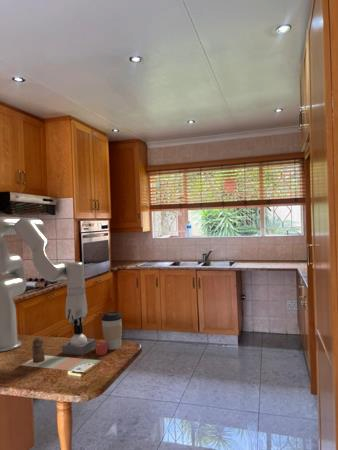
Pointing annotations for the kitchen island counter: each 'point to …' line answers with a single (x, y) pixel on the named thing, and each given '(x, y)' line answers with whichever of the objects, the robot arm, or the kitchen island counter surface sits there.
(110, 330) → the coffee cup
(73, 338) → the dome
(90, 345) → the base
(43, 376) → the kitchen island counter surface
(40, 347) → the walnut pawn
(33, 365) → the game board
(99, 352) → the red die
